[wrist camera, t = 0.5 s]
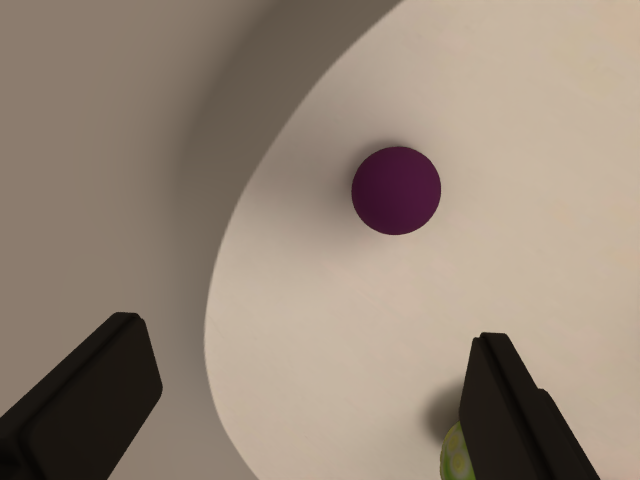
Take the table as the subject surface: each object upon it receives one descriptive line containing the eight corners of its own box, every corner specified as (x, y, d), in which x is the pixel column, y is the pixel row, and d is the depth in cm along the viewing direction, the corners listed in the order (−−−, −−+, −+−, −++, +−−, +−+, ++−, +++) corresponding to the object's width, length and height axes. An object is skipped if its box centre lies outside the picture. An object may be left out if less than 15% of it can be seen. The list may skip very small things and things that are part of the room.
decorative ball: (497, 472, 33) (548, 618, 24) (408, 428, 32) (426, 563, 23) (577, 411, 29) (673, 558, 20) (478, 359, 28) (533, 489, 19)
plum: (365, 130, 22) (366, 143, 17) (444, 152, 22) (467, 171, 17) (343, 206, 24) (338, 235, 20) (415, 226, 24) (428, 259, 20)
